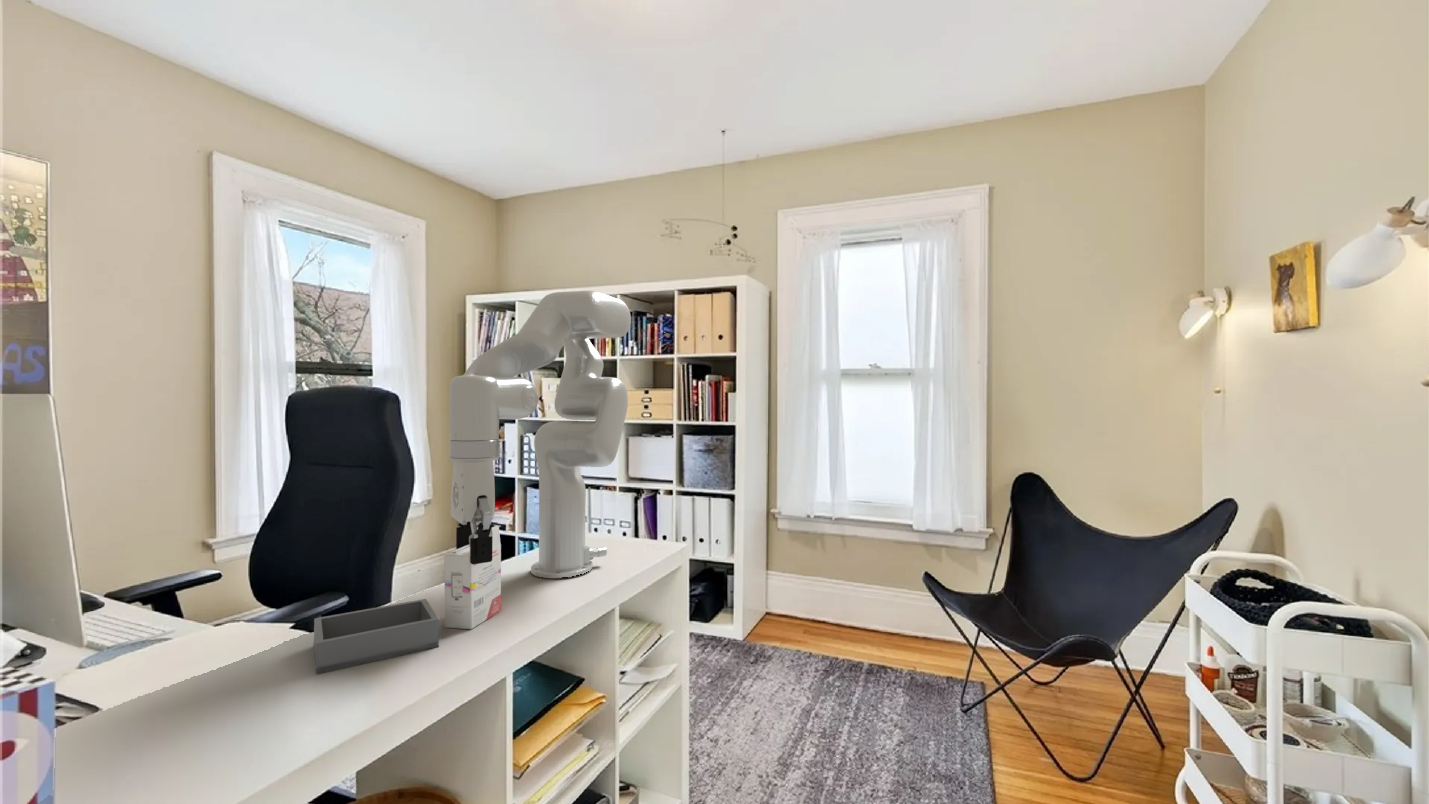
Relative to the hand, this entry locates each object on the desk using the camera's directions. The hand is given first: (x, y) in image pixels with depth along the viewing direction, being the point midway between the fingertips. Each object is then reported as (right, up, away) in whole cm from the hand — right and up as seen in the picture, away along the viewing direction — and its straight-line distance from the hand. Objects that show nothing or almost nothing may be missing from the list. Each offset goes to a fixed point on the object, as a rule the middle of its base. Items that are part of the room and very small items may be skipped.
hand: (473, 556), depth 94 cm
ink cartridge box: (0, -11, 0) cm, 11 cm away
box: (-10, -10, -11) cm, 18 cm away
